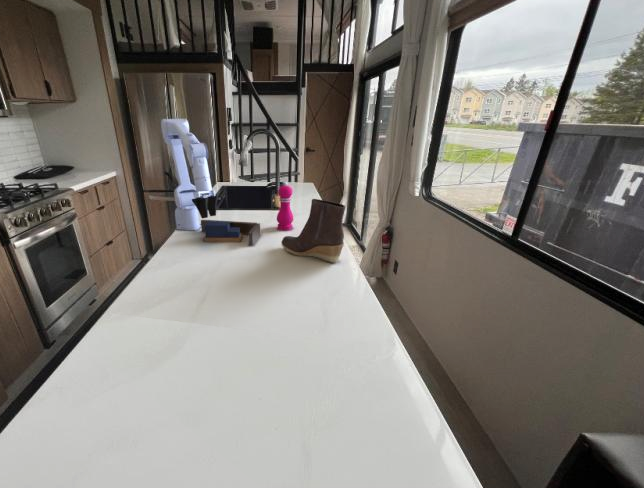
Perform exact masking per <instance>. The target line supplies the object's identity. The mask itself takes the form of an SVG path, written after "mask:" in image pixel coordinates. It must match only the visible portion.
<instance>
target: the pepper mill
mask: <svg viewBox="0 0 644 488" xmlns="http://www.w3.org/2000/svg"><path fill="white" fill-rule="evenodd" d="M277 194H278V196H279V200H278V202H280V203H279V205H280V207H279V210H278V212H277V214H276V222H277V230H279V231H283V232H288V231H291V230H292V229H293V224H292V223H294V214H293V212H292V209H291V202H292V195H293V188H292V187H291V186H290V185H288V182H287V181H284V182H283V183H282V185H281V186H279V188H278V190H277Z"/></svg>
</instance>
